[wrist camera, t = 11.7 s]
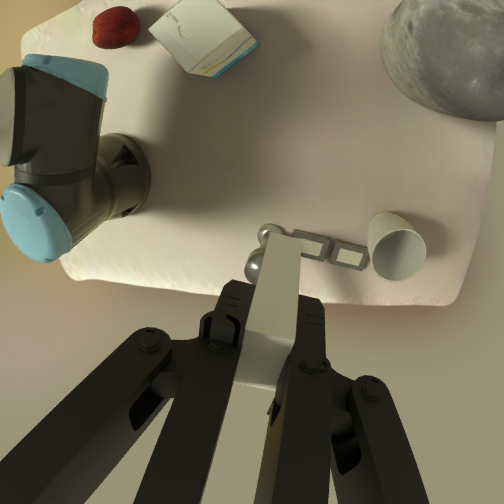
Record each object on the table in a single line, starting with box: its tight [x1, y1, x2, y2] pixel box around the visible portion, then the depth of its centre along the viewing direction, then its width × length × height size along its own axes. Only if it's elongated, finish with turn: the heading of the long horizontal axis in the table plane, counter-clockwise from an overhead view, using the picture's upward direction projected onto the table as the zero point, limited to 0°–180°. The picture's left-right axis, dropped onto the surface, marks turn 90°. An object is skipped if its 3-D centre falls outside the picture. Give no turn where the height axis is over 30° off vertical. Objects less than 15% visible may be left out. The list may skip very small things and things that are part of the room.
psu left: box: [292, 229, 330, 262], centre depth 50 cm, size 6×4×1 cm, turn 80°
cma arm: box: [244, 248, 266, 285], centre depth 44 cm, size 20×4×3 cm, turn 33°
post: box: [258, 224, 283, 248], centre depth 47 cm, size 4×4×8 cm
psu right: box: [329, 240, 369, 271], centre depth 49 cm, size 6×4×1 cm, turn 80°
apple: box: [92, 6, 140, 49], centre depth 33 cm, size 7×8×8 cm
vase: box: [380, 0, 504, 121], centre depth 19 cm, size 16×16×30 cm
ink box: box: [149, 0, 259, 78], centre depth 31 cm, size 9×8×12 cm
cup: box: [367, 212, 426, 282], centre depth 42 cm, size 8×8×10 cm
